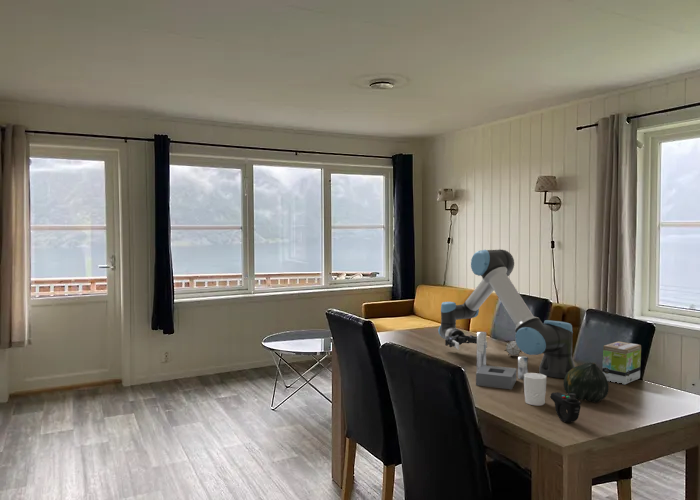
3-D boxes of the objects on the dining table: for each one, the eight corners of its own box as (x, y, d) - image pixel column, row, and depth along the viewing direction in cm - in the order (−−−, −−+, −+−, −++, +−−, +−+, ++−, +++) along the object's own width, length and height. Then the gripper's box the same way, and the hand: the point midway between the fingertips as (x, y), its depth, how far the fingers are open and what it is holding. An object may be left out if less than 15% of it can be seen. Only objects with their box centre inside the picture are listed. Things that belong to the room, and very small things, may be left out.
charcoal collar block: (516, 380, 222) (516, 368, 222) (511, 389, 210) (511, 376, 210) (482, 376, 228) (482, 364, 228) (475, 385, 216) (476, 373, 215)
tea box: (626, 385, 215) (627, 349, 214) (601, 380, 223) (601, 345, 222) (640, 378, 225) (641, 343, 224) (616, 373, 232) (616, 340, 232)
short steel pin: (528, 377, 227) (528, 356, 226) (527, 379, 223) (527, 358, 223) (518, 376, 228) (518, 355, 228) (517, 378, 225) (517, 357, 224)
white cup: (547, 406, 189) (548, 379, 189) (524, 405, 191) (525, 378, 190) (544, 400, 197) (544, 373, 196) (522, 398, 198) (522, 372, 198)
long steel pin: (486, 372, 235) (487, 332, 234) (485, 374, 231) (485, 333, 230) (477, 371, 236) (477, 331, 236) (475, 373, 233) (476, 332, 232)
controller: (571, 428, 169) (571, 397, 169) (548, 414, 181) (548, 385, 181) (583, 426, 170) (583, 395, 170) (559, 413, 182) (559, 385, 182)
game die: (510, 364, 263) (499, 348, 262) (512, 354, 271) (501, 339, 270) (526, 357, 259) (515, 341, 258) (527, 348, 266) (516, 332, 265)
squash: (556, 377, 207) (567, 354, 197) (595, 379, 207) (608, 356, 196) (565, 410, 197) (577, 388, 187) (606, 412, 197) (620, 390, 186)
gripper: (478, 342, 266) (497, 352, 245) (431, 344, 262) (446, 354, 241) (478, 328, 266) (497, 336, 245) (431, 329, 262) (446, 338, 241)
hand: (472, 345), depth 243 cm, fingers open, 13 cm apart
